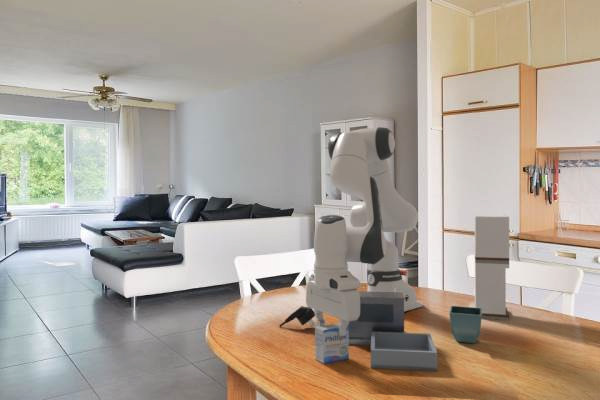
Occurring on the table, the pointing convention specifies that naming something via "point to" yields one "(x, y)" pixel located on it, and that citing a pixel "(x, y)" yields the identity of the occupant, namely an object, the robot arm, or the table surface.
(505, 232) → the grey tall box
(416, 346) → the tray
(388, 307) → the box
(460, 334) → the flower pot
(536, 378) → the table surface
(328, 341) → the medicine box
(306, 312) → the power plug
